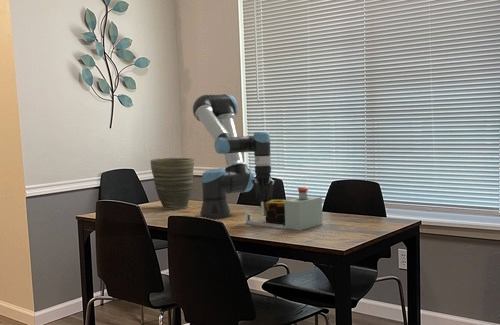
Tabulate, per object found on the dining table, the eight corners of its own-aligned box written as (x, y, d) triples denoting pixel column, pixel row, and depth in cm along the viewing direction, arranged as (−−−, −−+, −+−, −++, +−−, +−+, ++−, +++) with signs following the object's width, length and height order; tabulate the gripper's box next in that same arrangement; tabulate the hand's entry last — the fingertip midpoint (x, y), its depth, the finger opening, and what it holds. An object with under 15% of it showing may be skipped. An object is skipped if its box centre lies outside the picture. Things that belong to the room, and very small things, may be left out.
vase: (199, 210, 305) (190, 156, 299) (156, 217, 305) (146, 163, 299) (203, 198, 329) (194, 148, 323) (162, 204, 329) (153, 154, 323)
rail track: (246, 223, 259) (245, 215, 259) (274, 217, 273) (273, 208, 273) (282, 228, 244) (282, 219, 243) (310, 221, 258) (310, 213, 257)
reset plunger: (296, 206, 247) (295, 188, 247) (302, 204, 250) (302, 186, 250) (304, 207, 244) (303, 188, 244) (310, 205, 247) (310, 187, 247)
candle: (286, 225, 252) (286, 203, 251) (265, 224, 255) (264, 202, 254) (292, 221, 261) (292, 199, 260) (272, 220, 265) (271, 199, 264)
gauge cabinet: (283, 228, 246) (282, 200, 245) (306, 222, 257) (305, 196, 256) (299, 230, 239) (298, 202, 238) (322, 224, 251) (321, 197, 250)
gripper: (247, 165, 264) (249, 215, 266) (267, 166, 255) (269, 217, 256) (258, 164, 269) (260, 213, 271) (278, 164, 260) (280, 215, 262)
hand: (264, 215), depth 264 cm, fingers closed
